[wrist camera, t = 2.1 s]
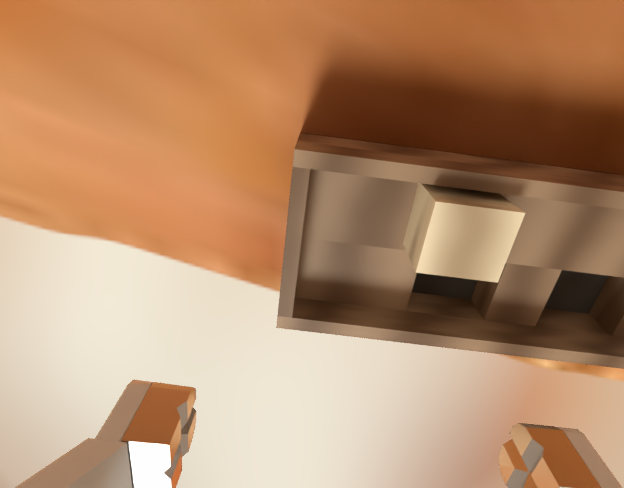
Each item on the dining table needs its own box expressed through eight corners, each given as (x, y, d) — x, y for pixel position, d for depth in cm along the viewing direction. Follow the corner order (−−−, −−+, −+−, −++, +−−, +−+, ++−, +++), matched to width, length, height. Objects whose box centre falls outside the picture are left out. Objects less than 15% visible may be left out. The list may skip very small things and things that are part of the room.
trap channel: (787, 196, 27) (893, 227, 22) (689, 334, 32) (756, 384, 27) (300, 132, 26) (294, 149, 21) (284, 285, 31) (276, 327, 26)
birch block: (495, 190, 24) (525, 213, 21) (473, 252, 26) (497, 282, 22) (419, 180, 24) (435, 201, 20) (403, 243, 26) (415, 272, 22)
